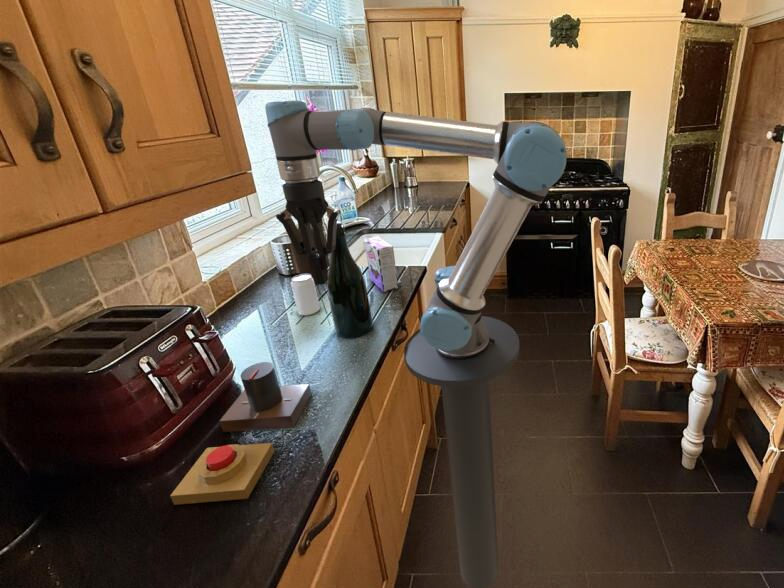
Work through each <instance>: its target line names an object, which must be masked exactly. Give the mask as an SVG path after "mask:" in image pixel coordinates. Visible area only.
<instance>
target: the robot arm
mask: <svg viewBox="0 0 784 588" xmlns="http://www.w3.org/2000/svg"><path fill="white" fill-rule="evenodd" d="M264 107H265V114H266V121H267V124H266V125H267V128H268V130H269V135H270V138H271V141H272V144H273V149H274V153H275V159H276V164H277V168H278V173H279V177H280V179H281V180H282V183H281V186H282V191H283V196H284V199H285V200H286V203H285V206H284V208H285V209H284V210H282V211H280V212H278V213H277V214H276V216H275V218H276V220H278V221H279V222H280V224H282V226H283V227H284V228H283V229H284V230H285V231H286V234H287V236H288V237H289V240H290V243H291V242H292V244H293V246H294V248H295V249H296V251H297V253H298V254H299V255H305V256H307V257H308V261H309V265H310V268H311V270H315V274H316V279H317V283H318V284H317V285H326V284H327V280H328V274H327V269H329V266H330V259H329V255H331V253H332V252H333V250H334V249H335V245H336V231H337V221H338V219H339V217H340V215H341V210H340V209H339V208H336V209H335V208H333V207H331V206H330V205H329V202H328V201H327V200H326V197H325V190H324V185H323V180H322V179H321V178H320V177H321V170H320V165H319V160H318V155H317V151H322V150H323V151H324V150H325V151H326V150H327V151H329V150H331V151H332V150H336V151H337V150H338V151H341V150H342V151H343V150H344V151H345V150H346V151H357V150H366V149H369V148H371V146H372V145H377V146H387V147H396V148H403V149H412V150H420V151H426V152H435V153H442V154H449V155H459V156H465V157H473V158H474V157H475V158H480V159H489V160H490V159H491V160H493V161H494V162H495V163H496V164H497V166H496V168H495V170H494V172H493V174H492V180H493V183H494V188H493V191H492V192H491V194H490V197H489V198H488V200H487V203H486V204H485V206H484V208H483V210H482V212H481V214H480V216H479V218H478V220H477V221H476V224H475V226H474V228H473V229H472V232H471V234H470V236H469V238H468V240H467V241H466V244H465V246H464V247H463V250H462V252H461V253H460V256H459V258H458V260H457V262H456V264H455V265H450V266H445V267H441V268H439V269H437V270H436V271H435V273H434V283H435V290H434V292H433V294H432V296H431V298H430V300H429V302H428V305H427V307H426V308H425V311H424V312H423V314H422V316H421V318H420V323H419V329H420V331H421V334H422V335H423V337H424V339H425V340H426V341H427V342H428V343H429V344H430V345H431V346H433V347H435V349H436V351H437V353H438V354H439V355H441V356H443V357H445V358H448V359H453V360H464V359H469V358H473V357H476V356H478V355H480V354H482V353H483V352H484V351H485V350H486V349H487V348H488V346H489V341H490V342H493V343H494V342H495V340H494V339H491V338H489V334H488V331H487V329H486V327H485V324H484V322H483V320H482V316H483V315H482V311H483V310H484V308H485V306H486V297H485V295H484V294H485V292H486V290H487V289H488V287H489V285H490V283H491V281H492V280H493V277H494V276H495V274H496V272H497V270H498V269H499V267H500V265H501V263H502V261H503V259H504V257H505V256H506V254H507V252H508V250H509V249H510V247H511V245H512V243H513V241H514V239H515V238H516V236H517V234H518V232H519V230H520V229H521V226H522V225H523V223H524V221H525V220H526V218H527V216H528V214H529V212H530V210H531V208H532V207H533V206H536V205H539V204H542V203H543V202H544V200H545V198H546V197H547V195H548V193H549V191H550V189H551V187H553V186H554V185H555V184H556V183H558V181H559V179H560V178H561V177H562V175H563V173H564V171H565V169H566V166H567V158H568V157H567V155H568V154H567V147H566V144H565V142H564V140H563V138H562V137H561V136H560V134H559V132H558V131H556V130H554V128H553V127H551V126H550V125H549V124H546V123H544V122H539V121H527V122H516V121H514V122H513V121H505V120H502V121H500V122H499V123H498V124H491V123H484V122H483V123H482V122H475V121H467V120H458V119H451V118H441V117H433V116H428V115H427V116H426V115H420V114H419V115H418V114H410V113H402V112H394V111H384V110H377V109H375V108H372V107H361V108H353V109H352V108H351V109H349V108H348V109H335V110H333V109H332V110H309V107H308V104H307V102H306V101H305V100H297V99H296V100H269V101H267V102H266V103H265V106H264ZM325 214H326V217H327V218H328V219H327V227H326V228H327V229H326V236H325V231H324V226H323V224H324V222H323V221H324V220H323V218H324V216H325ZM293 218H294V219H295V220H296V222H297V221H298V222H297V225H299V226H298V227H299V228H300V229H301V234H302V237H301V235H300V233H299V231H298V227H297V225H296V222H295V221H294V219H293ZM311 227H312V228H313V232H314V237H315V241H316V246H317V250H316V249H315V244H314V240H313V235H312V230H311ZM302 238H303V239H302ZM317 251H318V253H316V252H317ZM315 253H316V254H315Z"/></svg>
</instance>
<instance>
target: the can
mask: <svg viewBox="0 0 784 588" xmlns="http://www.w3.org/2000/svg"><path fill="white" fill-rule="evenodd" d="M290 286H291V289H292V295H293V298H294V302H295V307H296V310H297V314H299V315H300V316H302V317H303V316H304V317H306V316H312V315H315V314H316V313H317V312H319V311H320V309H321V306H320V302H319V296H318V292H317V288H316V284H315V283H314V280H313V278H312V277H311V275H310V274H300V273H299V274H297V275H294V276H293V277H291V282H290Z"/></svg>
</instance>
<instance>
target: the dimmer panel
mask: <svg viewBox="0 0 784 588" xmlns="http://www.w3.org/2000/svg"><path fill="white" fill-rule="evenodd" d="M279 386H280V389H281V393H282V399H281V401H280V402H279V403H278V404H277V405H275V406H274V407H272V408H270V409H267V410H264V411H254V410H252V409H251V407H250V404H249V401H248V398H247V395H246V392H245V389H243V391H242V392H241V393H240V394H239V396H238V397H237V398H236V400H235V401H234V402H233V403H232V404H231V406H230V407H229V408H228V410H227V411H226V412H225V413H224V414H223V416H222V417H221V418H220V420H219V421H218V422H219V424H220V427H221V430H222V432H223V433H234V432H246V431H260V430H274V429H289V428H294V427H295V426H296V424H297V422H298V420H299V419H300V416H301V414H302V413H303V412H304V409H305V407H306V406H307V404H308V402H309V400H310V398H311V397H312V394H313V393H312V390H311V386H310V383H304V384H302V383H301V384H289V385H287V384H286V385H279Z"/></svg>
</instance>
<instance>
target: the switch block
mask: <svg viewBox="0 0 784 588" xmlns="http://www.w3.org/2000/svg"><path fill="white" fill-rule="evenodd" d="M227 445H228V446H231V447H232V448H233V450H234V453H235V456H236V457H235V460H234V461H233V462H232V463H231V464H230V465H228V466H227V467H225V468H223V469H221V470H218V471H211V470H210V469H209V467H208V465H207V462H206V458H207V456H208V455H209V454H210V453H211V452H212V451H213V450H215V449H217V448H219V447H220V446H213V447H211V446H210V447H207V448H205V450H204V451H203V452H202V454H201V455H200V456H199V457H198V458H197V460H196V461H195V463H194V464H193V465H192V467H191V468H190V469H189V470H188V472H187V473H186V474H185V476H184V477H183V478H182V480H181V481H180V482H179V483H178V485H177V486H176V487H175V489H174V490H173V491H172V493H170V495H169V498H170V499H171V502H172V503H173V505H174V506H177V505H189V504H199V503H200V504H201V503H210V502H211V503H213V502H223V501H235V500H236V501H237V500H246V499H249V498H250V496H251V494H252V492H253V490H254V489H255V487H256V485H257V484H258V481H259V480H260V478H261V477H262V474H263V473H264V471H265V470H266V467H267V466H268V464H269V462H270V460H271V459H272V456H273V455H274V454H275V448H274V444H273V442H266V443H265V442H264V443H252V444H237V443H236V444H235V443H234V444H227ZM227 445H225V446H227Z"/></svg>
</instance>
